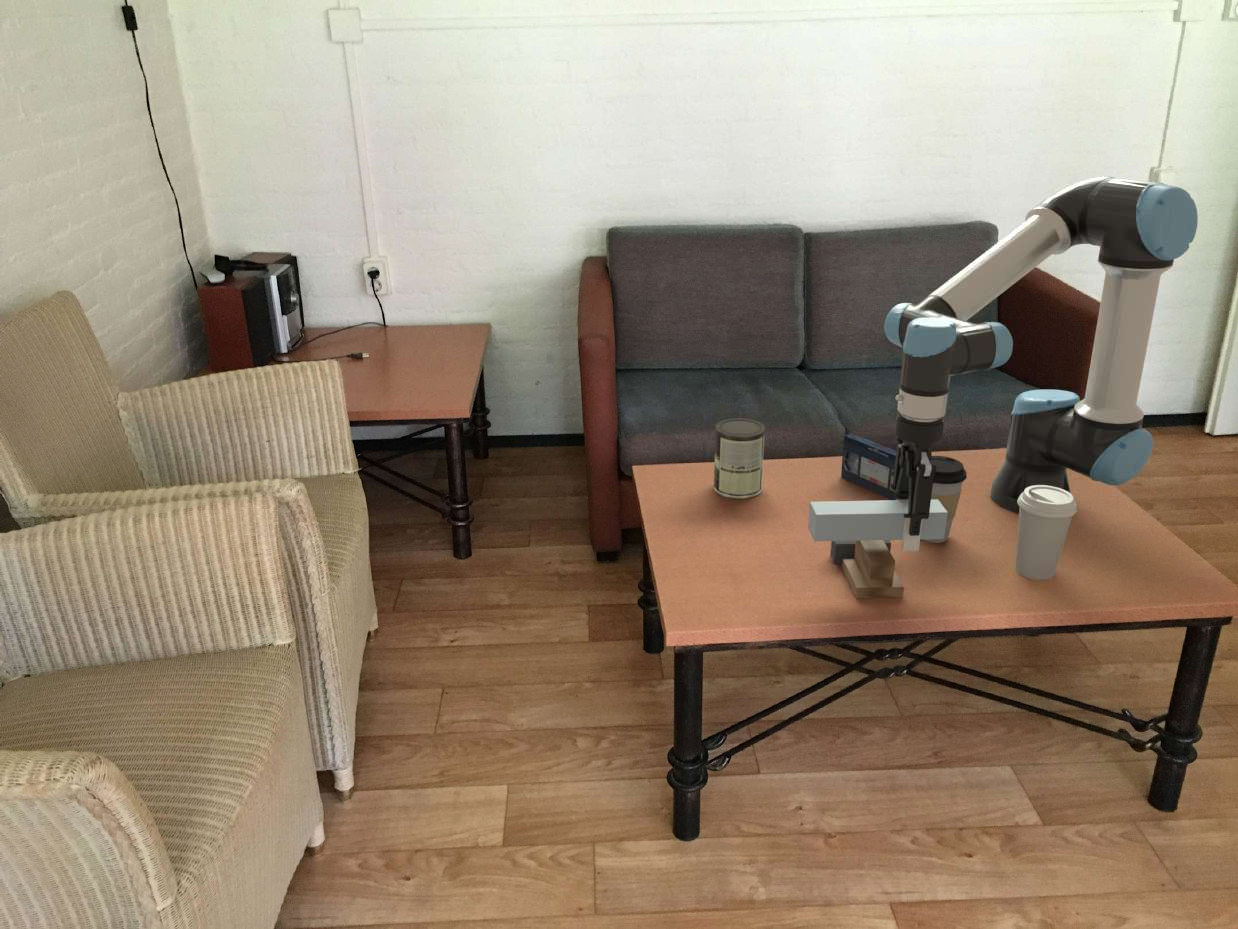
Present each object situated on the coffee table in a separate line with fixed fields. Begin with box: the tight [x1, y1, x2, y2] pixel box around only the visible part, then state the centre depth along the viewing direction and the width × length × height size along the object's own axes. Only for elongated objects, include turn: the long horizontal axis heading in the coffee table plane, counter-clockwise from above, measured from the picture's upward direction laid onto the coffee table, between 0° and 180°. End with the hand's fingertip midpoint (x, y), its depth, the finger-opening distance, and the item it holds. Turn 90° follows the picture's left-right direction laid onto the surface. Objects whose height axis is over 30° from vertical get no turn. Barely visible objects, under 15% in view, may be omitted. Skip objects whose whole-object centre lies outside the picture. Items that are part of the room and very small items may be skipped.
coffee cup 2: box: [1015, 485, 1078, 581], centre depth 171 cm, size 10×10×15 cm
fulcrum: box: [841, 540, 905, 599], centre depth 169 cm, size 8×10×7 cm
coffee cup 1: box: [921, 455, 968, 544], centre depth 184 cm, size 9×9×15 cm
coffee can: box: [713, 417, 766, 500], centre depth 204 cm, size 10×10×14 cm
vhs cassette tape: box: [840, 433, 909, 500], centre depth 204 cm, size 18×3×10 cm, turn 33°
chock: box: [829, 540, 892, 565], centre depth 178 cm, size 10×3×4 cm, turn 91°
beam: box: [807, 499, 948, 542], centre depth 166 cm, size 22×5×5 cm, turn 92°
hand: (904, 541), depth 168 cm, fingers closed on beam, 5 cm apart
